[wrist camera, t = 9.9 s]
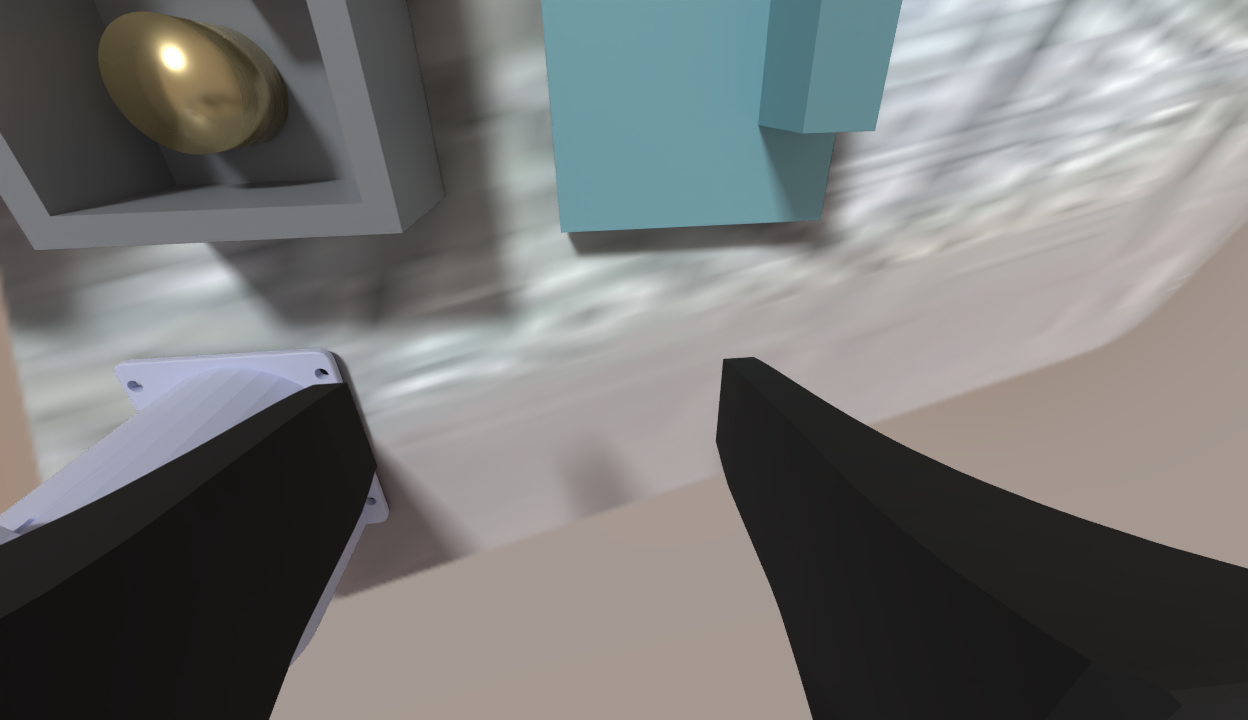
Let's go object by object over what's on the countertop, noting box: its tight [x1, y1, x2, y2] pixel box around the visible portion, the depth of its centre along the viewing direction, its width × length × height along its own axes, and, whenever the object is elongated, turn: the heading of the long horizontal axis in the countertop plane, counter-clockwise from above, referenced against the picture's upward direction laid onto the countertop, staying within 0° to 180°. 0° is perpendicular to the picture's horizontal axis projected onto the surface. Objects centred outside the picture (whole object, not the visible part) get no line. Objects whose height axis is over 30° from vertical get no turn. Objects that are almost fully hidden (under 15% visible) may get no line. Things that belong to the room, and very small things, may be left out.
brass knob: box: [98, 12, 289, 154], centre depth 14 cm, size 3×3×2 cm
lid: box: [541, 0, 902, 233], centre depth 14 cm, size 11×9×5 cm
